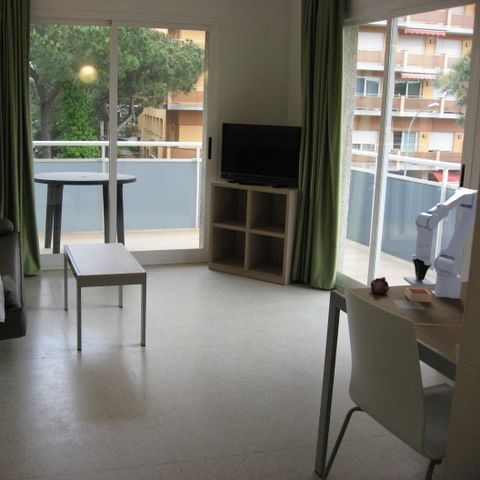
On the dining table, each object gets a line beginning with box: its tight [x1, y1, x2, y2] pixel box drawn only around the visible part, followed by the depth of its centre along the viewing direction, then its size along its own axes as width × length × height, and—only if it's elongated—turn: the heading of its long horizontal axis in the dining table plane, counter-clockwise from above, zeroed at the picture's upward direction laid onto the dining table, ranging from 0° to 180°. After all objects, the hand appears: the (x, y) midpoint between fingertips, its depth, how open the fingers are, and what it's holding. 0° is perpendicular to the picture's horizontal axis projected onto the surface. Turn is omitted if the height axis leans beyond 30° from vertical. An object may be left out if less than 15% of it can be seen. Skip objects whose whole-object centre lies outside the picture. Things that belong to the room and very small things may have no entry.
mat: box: [392, 299, 426, 311], centre depth 258 cm, size 10×10×1 cm
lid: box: [403, 271, 436, 287], centre depth 265 cm, size 9×9×4 cm
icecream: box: [370, 276, 390, 295], centre depth 271 cm, size 7×7×15 cm
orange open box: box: [404, 287, 432, 303], centre depth 267 cm, size 8×8×4 cm
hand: (419, 278), depth 265 cm, fingers closed on lid, 2 cm apart
